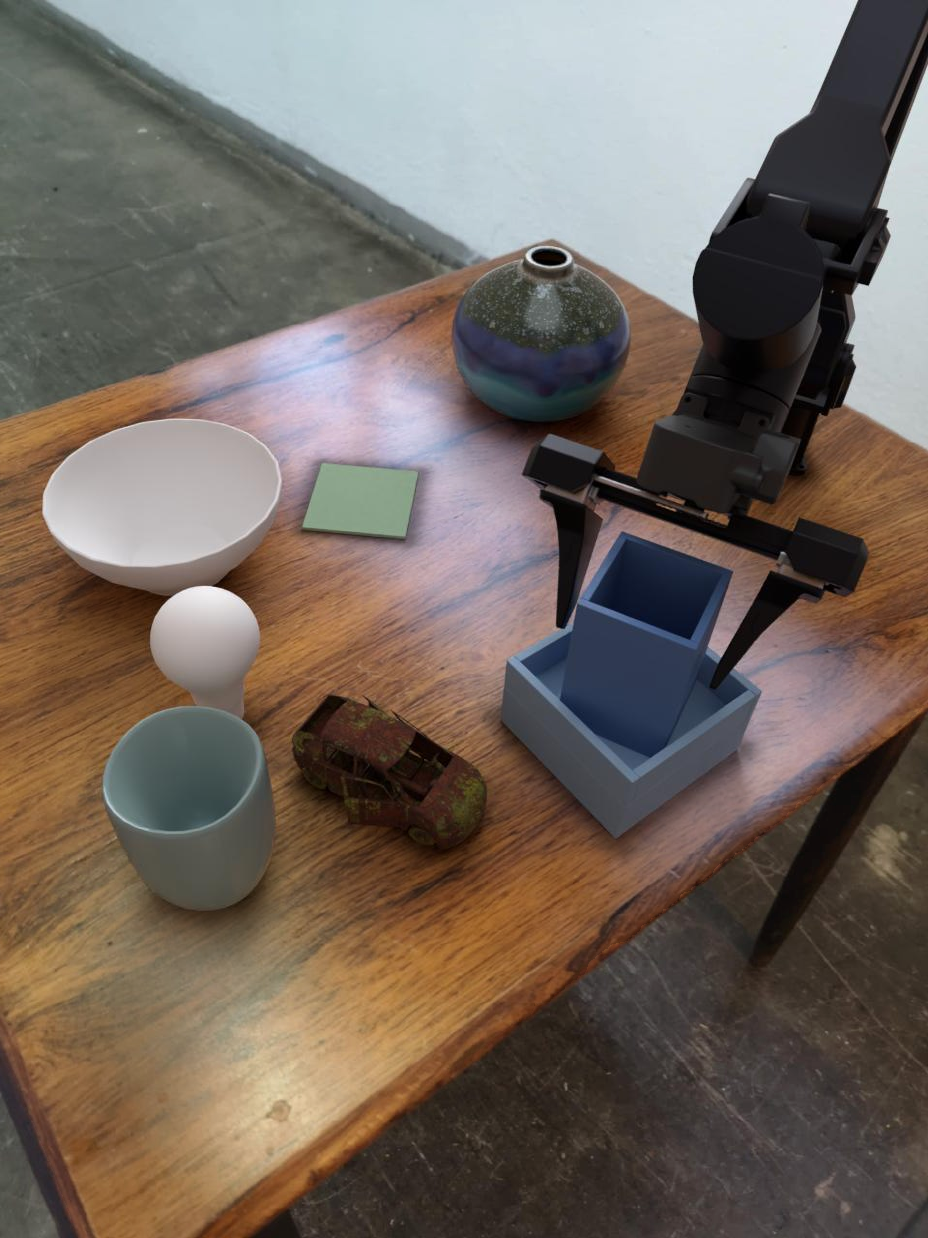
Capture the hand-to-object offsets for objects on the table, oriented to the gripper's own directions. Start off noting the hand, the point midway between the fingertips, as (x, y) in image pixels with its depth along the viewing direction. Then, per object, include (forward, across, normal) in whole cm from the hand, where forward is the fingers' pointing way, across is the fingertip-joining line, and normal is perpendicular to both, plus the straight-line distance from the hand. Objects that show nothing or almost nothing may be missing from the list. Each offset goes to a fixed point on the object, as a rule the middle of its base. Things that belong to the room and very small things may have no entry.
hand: (634, 657), depth 54 cm
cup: (+20, -17, -7) cm, 27 cm away
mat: (-3, -26, +15) cm, 30 cm away
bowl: (+6, -34, +7) cm, 35 cm away
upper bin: (+3, 0, +5) cm, 6 cm away
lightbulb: (+14, -22, -1) cm, 26 cm away
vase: (-17, -20, +30) cm, 40 cm away
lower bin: (+5, 0, +7) cm, 9 cm away
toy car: (+13, -11, 0) cm, 17 cm away
